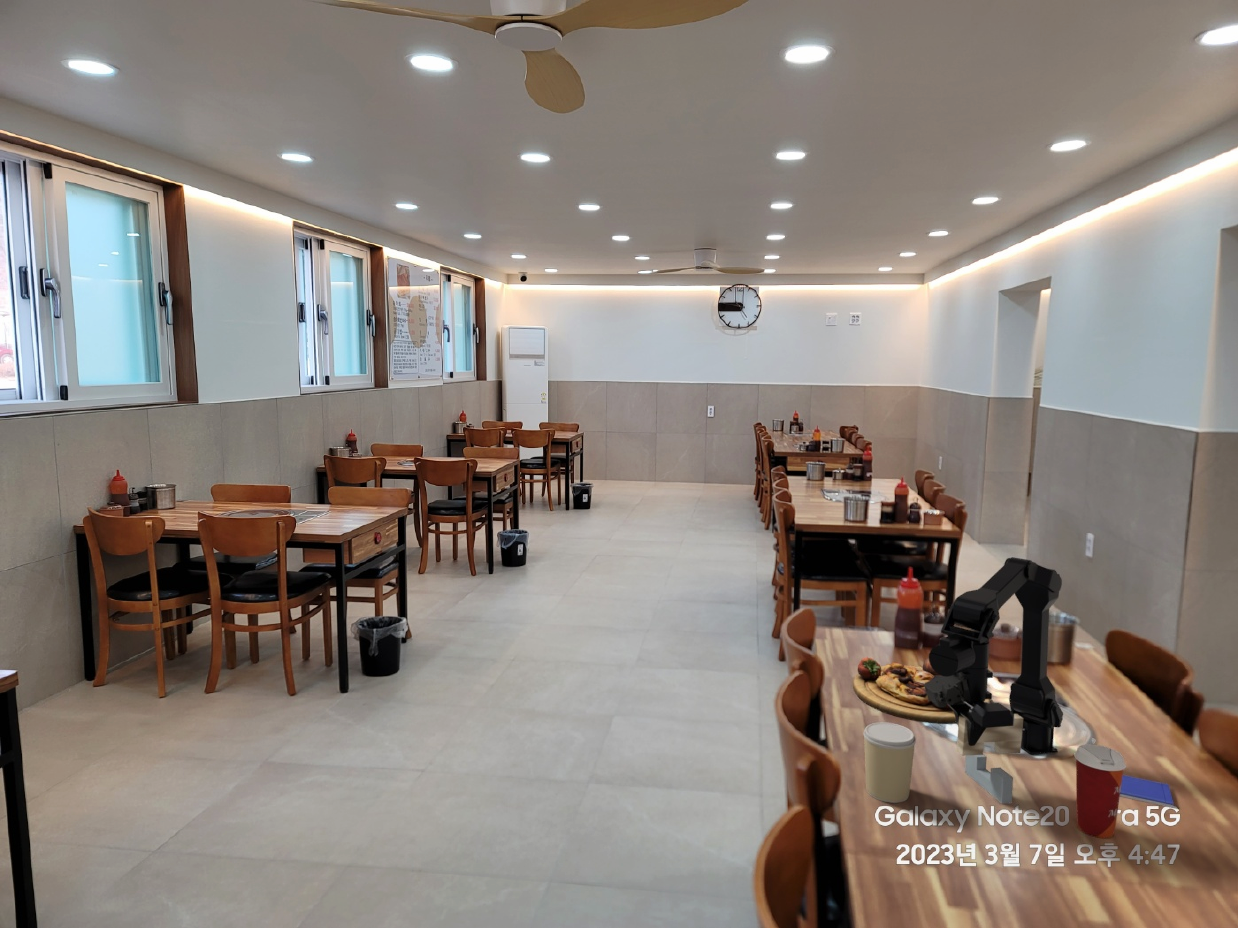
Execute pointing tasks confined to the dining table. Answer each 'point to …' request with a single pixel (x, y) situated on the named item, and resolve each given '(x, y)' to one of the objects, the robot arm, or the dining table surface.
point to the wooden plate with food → (900, 691)
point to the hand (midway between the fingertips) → (968, 742)
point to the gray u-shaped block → (990, 778)
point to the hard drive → (1146, 791)
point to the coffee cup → (888, 761)
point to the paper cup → (1098, 789)
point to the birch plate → (992, 738)
